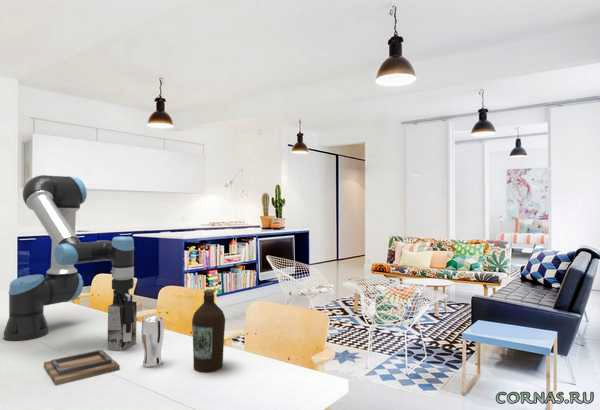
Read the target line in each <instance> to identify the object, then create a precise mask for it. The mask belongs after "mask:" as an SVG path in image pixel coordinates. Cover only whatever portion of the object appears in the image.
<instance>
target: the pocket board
mask: <svg viewBox="0 0 600 410" xmlns="http://www.w3.org/2000/svg"><path fill="white" fill-rule="evenodd" d="M43 367H44V369H45V371H46V373H47V374H48V375H49V377H50V378H51V380H52V382H53V383H54V385H55V386H58V385H62V384H66V383H71V382H74V381H80V380H83V379H87V378H91V377H97V376H100V375H103V374H108V373H112V372H115V371H116V372H117V371H119V370H120V364H119V363H118V362H117V361H116V360H114V359H113V358H112V356H111V355H109V354H108V353H107V352H105V351H104V350H103V349H98V350H94V351H89V352H83V353H79V354H74V355H69V356H66V357H59V358H55V359H50V360H47V361H43Z"/></svg>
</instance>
